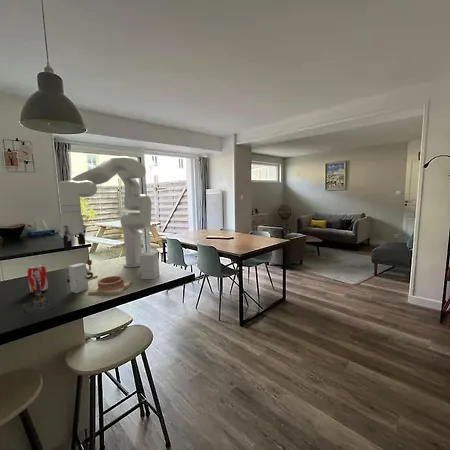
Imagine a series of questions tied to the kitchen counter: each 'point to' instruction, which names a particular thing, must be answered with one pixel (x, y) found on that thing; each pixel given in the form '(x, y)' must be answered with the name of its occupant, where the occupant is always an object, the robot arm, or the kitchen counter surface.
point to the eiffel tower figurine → (39, 299)
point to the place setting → (87, 271)
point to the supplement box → (149, 265)
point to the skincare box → (78, 277)
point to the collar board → (112, 292)
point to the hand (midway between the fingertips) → (75, 247)
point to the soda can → (41, 275)
